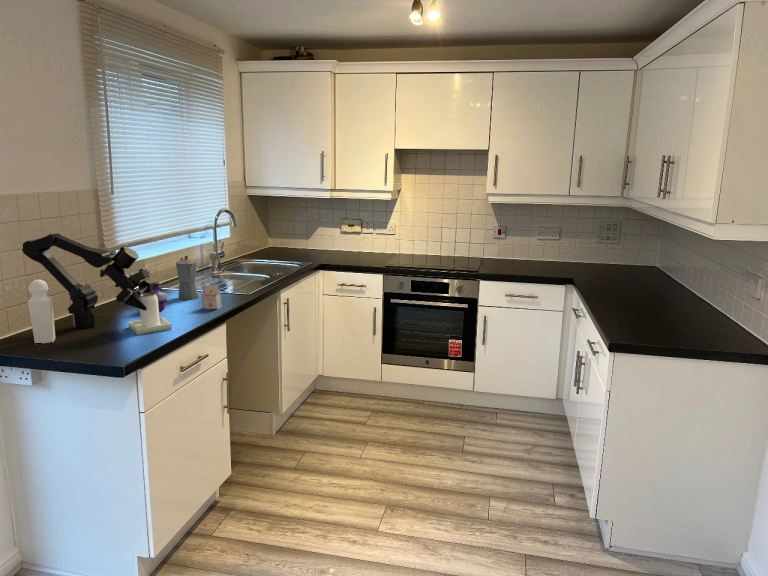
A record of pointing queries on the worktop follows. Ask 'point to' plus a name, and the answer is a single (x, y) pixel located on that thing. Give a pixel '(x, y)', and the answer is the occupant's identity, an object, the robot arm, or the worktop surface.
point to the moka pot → (187, 279)
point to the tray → (139, 329)
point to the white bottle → (41, 312)
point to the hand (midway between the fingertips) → (151, 306)
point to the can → (149, 310)
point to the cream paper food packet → (211, 297)
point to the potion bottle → (159, 295)
